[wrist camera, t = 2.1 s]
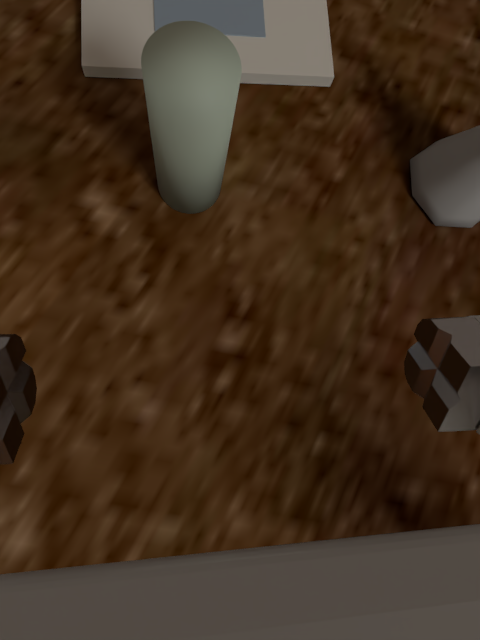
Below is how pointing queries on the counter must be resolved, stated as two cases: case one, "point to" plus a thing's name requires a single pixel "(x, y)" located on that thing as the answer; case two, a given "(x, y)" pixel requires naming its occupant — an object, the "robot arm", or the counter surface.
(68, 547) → the counter surface
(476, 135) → the flask
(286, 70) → the card
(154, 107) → the pale green cylinder
